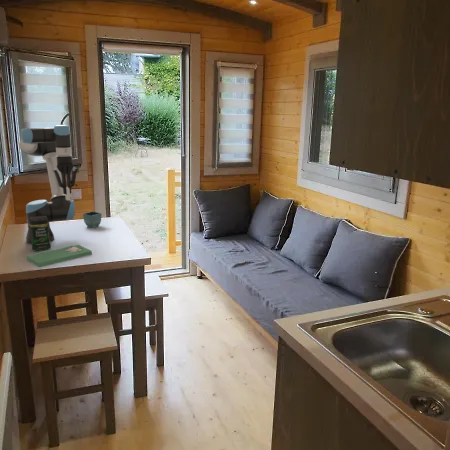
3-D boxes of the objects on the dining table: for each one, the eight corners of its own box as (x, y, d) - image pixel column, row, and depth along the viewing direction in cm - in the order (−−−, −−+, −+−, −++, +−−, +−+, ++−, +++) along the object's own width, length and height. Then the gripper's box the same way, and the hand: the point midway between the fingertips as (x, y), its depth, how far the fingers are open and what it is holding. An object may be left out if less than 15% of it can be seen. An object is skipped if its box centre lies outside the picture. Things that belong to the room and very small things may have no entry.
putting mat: (27, 259, 219) (26, 255, 218) (78, 247, 237) (78, 244, 237) (38, 267, 208) (38, 263, 208) (91, 254, 227) (91, 250, 227)
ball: (76, 247, 231) (76, 253, 230) (69, 247, 229) (70, 254, 228) (77, 246, 228) (78, 252, 228) (71, 246, 226) (72, 253, 226)
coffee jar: (32, 252, 229) (28, 219, 224) (31, 248, 236) (27, 215, 231) (51, 250, 233) (48, 217, 228) (50, 246, 240) (47, 214, 235)
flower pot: (92, 229, 274) (91, 215, 272) (83, 227, 279) (82, 213, 277) (102, 226, 281) (101, 213, 279) (93, 224, 286) (92, 211, 284)
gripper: (54, 157, 215) (58, 202, 221) (79, 155, 223) (82, 199, 230) (48, 155, 220) (53, 200, 227) (73, 154, 228) (76, 197, 235)
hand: (68, 199), depth 228 cm, fingers closed
